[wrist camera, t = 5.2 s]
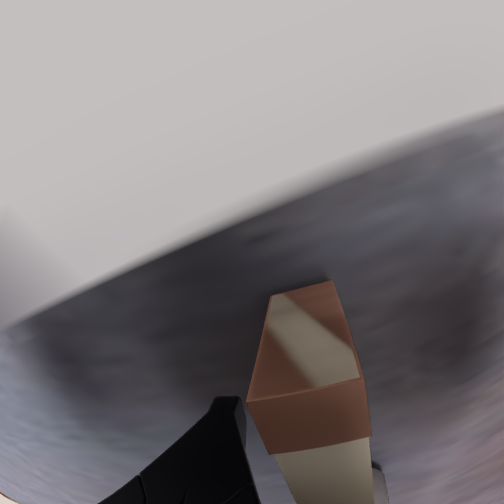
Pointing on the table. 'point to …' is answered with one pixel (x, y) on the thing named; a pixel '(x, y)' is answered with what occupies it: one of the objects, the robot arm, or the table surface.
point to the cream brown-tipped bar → (314, 400)
